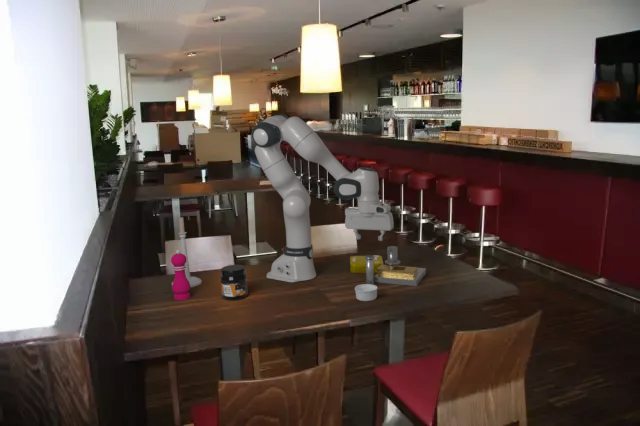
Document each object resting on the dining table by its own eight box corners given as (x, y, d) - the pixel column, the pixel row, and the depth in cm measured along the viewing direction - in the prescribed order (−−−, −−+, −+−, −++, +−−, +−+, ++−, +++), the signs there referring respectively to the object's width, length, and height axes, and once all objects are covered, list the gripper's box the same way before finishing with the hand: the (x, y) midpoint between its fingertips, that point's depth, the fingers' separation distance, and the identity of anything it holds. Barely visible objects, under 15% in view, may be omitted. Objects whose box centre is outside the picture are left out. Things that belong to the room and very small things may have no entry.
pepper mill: (172, 301, 208) (168, 253, 204) (172, 296, 215) (168, 248, 211) (191, 299, 210) (187, 251, 206) (191, 293, 217) (187, 246, 213)
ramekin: (351, 296, 207) (351, 285, 206) (371, 292, 210) (371, 282, 209) (360, 303, 199) (360, 292, 198) (381, 299, 202) (381, 288, 201)
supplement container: (224, 302, 205) (222, 273, 203) (219, 294, 214) (217, 266, 212) (251, 298, 209) (249, 269, 206) (244, 290, 218) (242, 262, 216)
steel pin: (364, 285, 220) (363, 257, 217) (367, 282, 223) (366, 254, 221) (373, 285, 218) (372, 258, 216) (376, 283, 222) (375, 255, 219)
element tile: (350, 264, 252) (349, 254, 251) (381, 263, 251) (381, 254, 250) (350, 273, 237) (350, 263, 236) (383, 273, 236) (383, 262, 236)
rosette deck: (374, 282, 223) (374, 254, 221) (386, 270, 239) (386, 244, 237) (416, 286, 216) (416, 257, 214) (425, 273, 232) (425, 247, 230)
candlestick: (178, 290, 222) (171, 220, 216) (167, 283, 232) (161, 216, 227) (206, 283, 229) (201, 216, 224) (194, 277, 239) (189, 212, 234)
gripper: (342, 207, 216) (343, 240, 219) (390, 209, 208) (390, 243, 210) (347, 205, 222) (348, 236, 224) (394, 206, 213) (395, 239, 216)
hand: (369, 239), depth 217 cm, fingers open, 8 cm apart
